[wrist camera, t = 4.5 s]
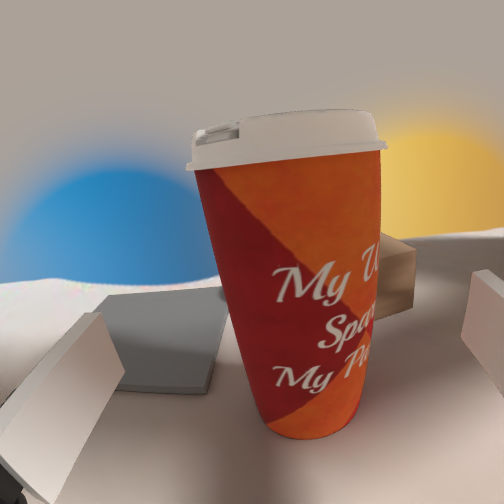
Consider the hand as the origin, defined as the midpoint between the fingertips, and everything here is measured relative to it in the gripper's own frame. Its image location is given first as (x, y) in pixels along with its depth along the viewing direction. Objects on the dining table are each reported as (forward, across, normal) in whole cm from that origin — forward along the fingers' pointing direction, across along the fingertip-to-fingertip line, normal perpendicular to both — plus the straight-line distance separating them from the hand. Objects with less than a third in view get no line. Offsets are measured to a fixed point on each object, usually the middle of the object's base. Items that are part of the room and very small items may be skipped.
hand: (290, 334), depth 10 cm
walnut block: (+14, +7, -7) cm, 17 cm away
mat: (+12, -12, -7) cm, 19 cm away
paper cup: (+4, +1, -8) cm, 8 cm away
